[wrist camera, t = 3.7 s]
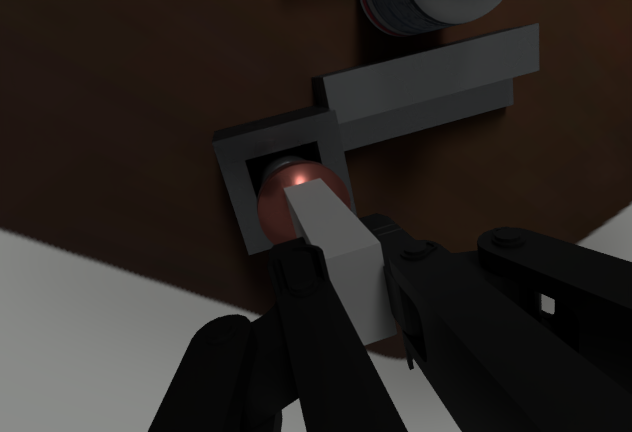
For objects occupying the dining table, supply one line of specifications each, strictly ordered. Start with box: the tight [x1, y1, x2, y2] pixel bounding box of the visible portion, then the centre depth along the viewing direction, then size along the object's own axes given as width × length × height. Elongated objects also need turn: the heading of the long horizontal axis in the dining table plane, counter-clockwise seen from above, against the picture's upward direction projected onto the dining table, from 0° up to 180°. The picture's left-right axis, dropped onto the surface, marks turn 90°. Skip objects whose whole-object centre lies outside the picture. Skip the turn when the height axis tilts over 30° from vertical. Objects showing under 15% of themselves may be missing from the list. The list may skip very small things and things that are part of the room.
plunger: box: [257, 151, 351, 245], centre depth 18 cm, size 4×4×6 cm
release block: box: [212, 105, 357, 255], centre depth 21 cm, size 6×6×4 cm
